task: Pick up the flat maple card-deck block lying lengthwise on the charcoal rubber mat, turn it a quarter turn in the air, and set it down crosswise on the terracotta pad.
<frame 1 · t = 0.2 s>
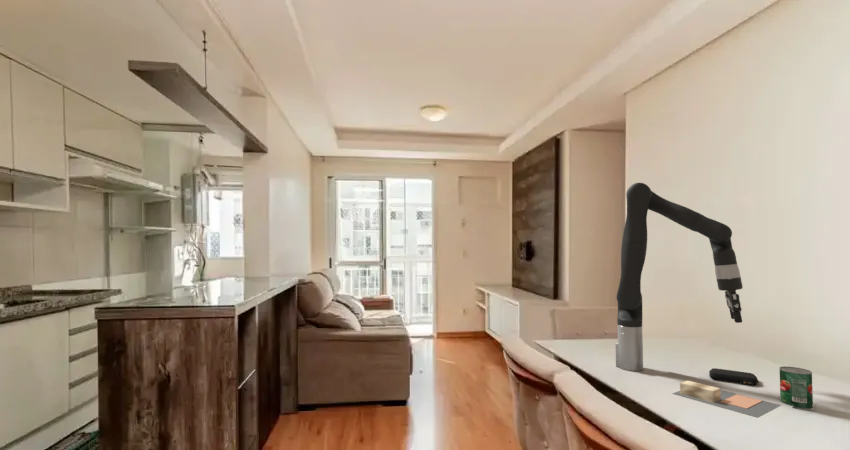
hand: (736, 320, 161), 22 cm above the table, tool pointing down, fingers open, 8 cm apart
mat: (724, 401, 140), on the table
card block: (700, 396, 142), point 1 cm above the table, touching mat
canned tomato: (796, 405, 136), on the table
carrying case or bag: (733, 381, 161), on the table
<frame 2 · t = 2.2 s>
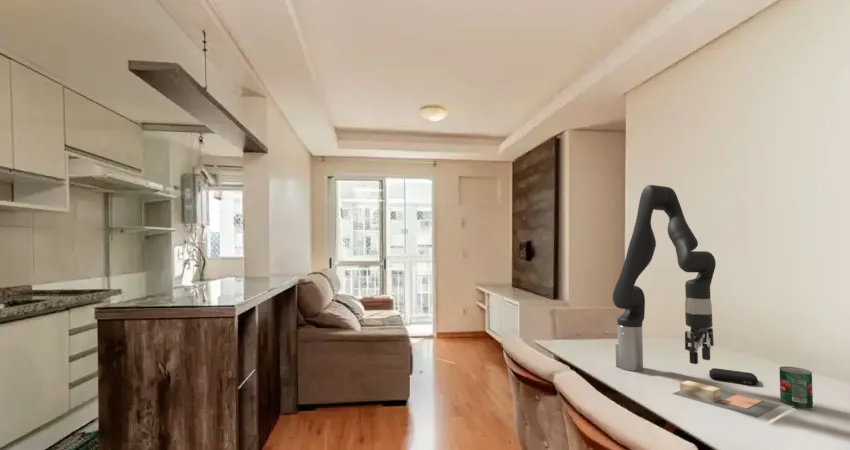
hand: (700, 361, 142), 12 cm above the table, tool pointing down, fingers open, 8 cm apart
nothing on the table moved.
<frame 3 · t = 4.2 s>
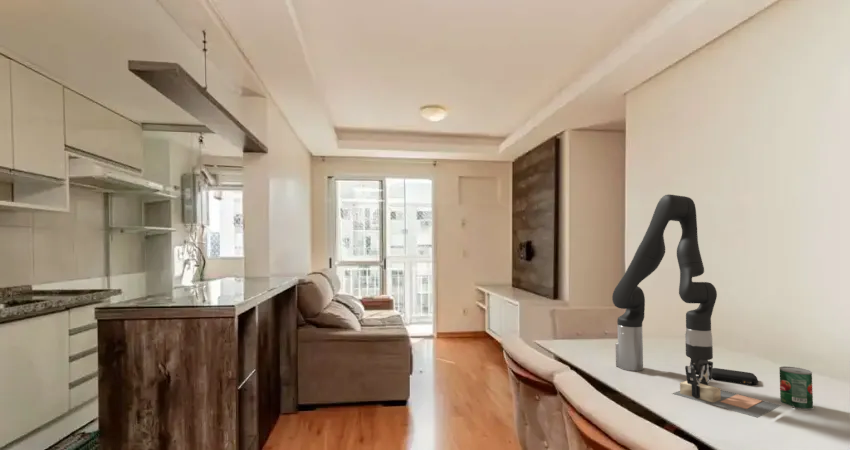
hand: (700, 395, 142), 1 cm above the table, tool pointing down, fingers closed on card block, 5 cm apart
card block: (700, 396, 142), point 1 cm above the table, touching gripper, mat
everything else where it was.
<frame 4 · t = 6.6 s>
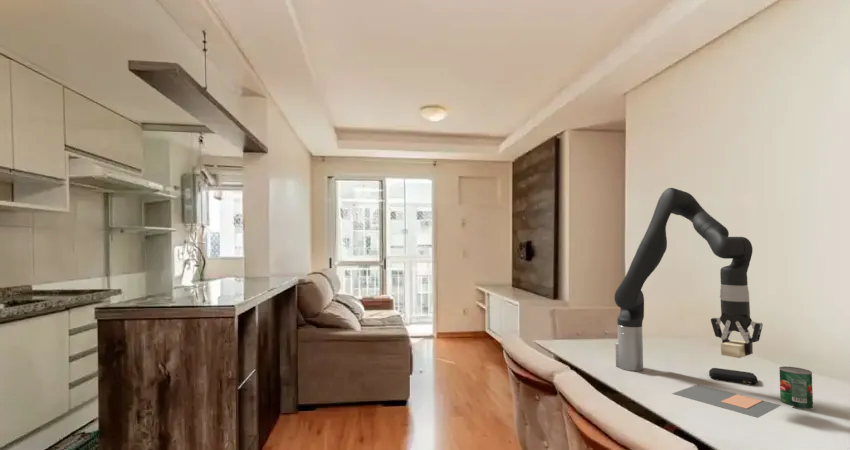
hand: (737, 352, 138), 16 cm above the table, tool pointing down, fingers closed on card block, 5 cm apart
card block: (737, 354, 138), point 16 cm above the table, touching gripper
everything else where it was.
when the fingers open (2 cm above the table, at t = 9.4 s): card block stays where it is, resting on mat.
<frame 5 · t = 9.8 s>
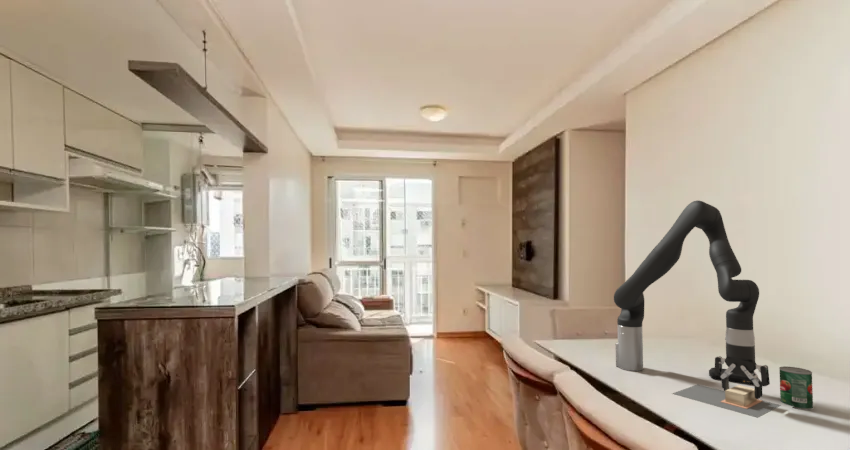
hand: (741, 394, 138), 3 cm above the table, tool pointing down, fingers open, 8 cm apart
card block: (741, 401, 137), point 1 cm above the table, touching mat
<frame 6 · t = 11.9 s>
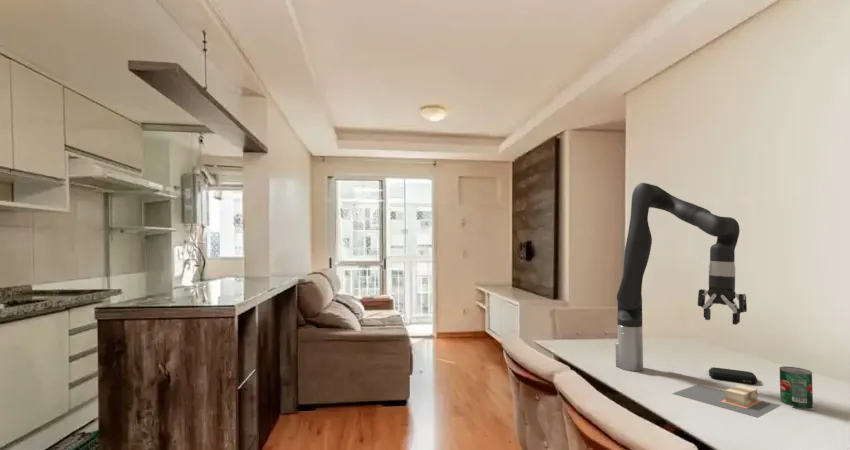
hand: (721, 322, 149), 24 cm above the table, tool pointing down, fingers open, 8 cm apart
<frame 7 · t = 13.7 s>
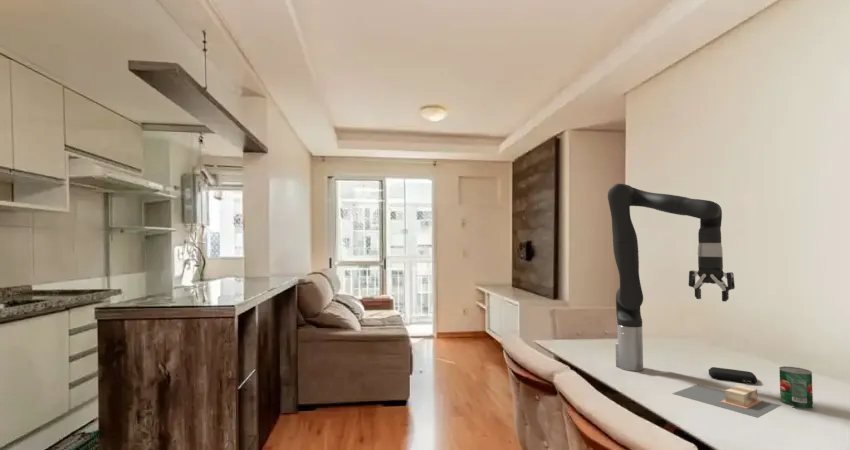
hand: (711, 300, 158), 30 cm above the table, tool pointing down, fingers open, 8 cm apart
at the end: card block 0.0 cm from the target spot, point 0.8 cm above the table; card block tilted 0°; the gripper is holding nothing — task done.
